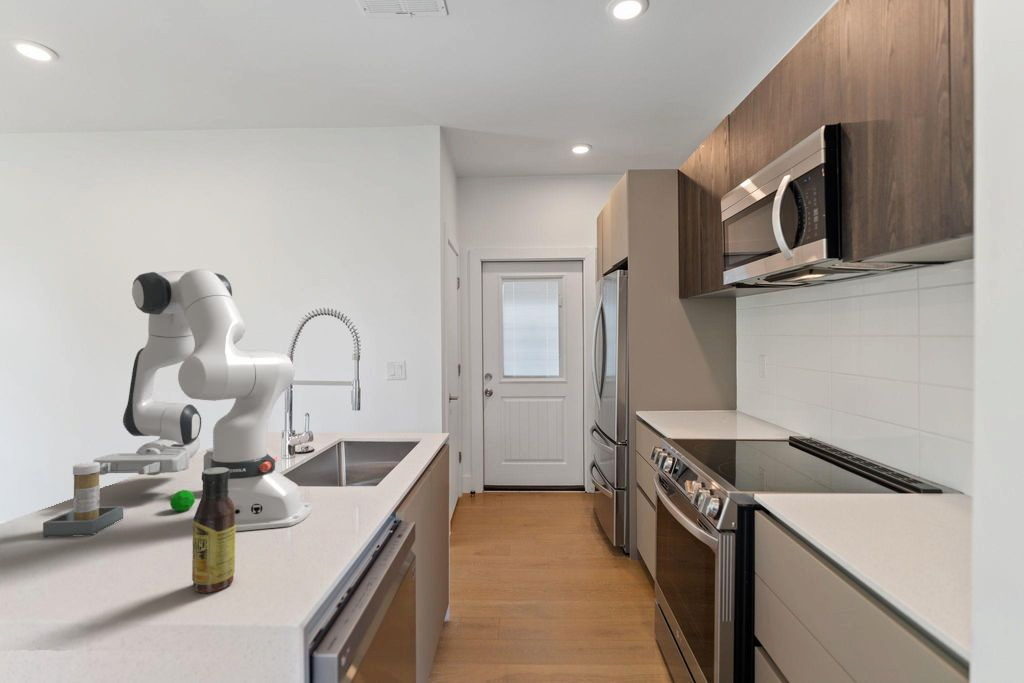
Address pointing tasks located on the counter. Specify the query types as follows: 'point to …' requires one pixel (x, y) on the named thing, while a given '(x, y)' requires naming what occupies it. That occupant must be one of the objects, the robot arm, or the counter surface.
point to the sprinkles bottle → (86, 491)
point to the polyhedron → (182, 500)
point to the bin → (82, 523)
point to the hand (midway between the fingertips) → (120, 471)
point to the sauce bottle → (214, 534)
